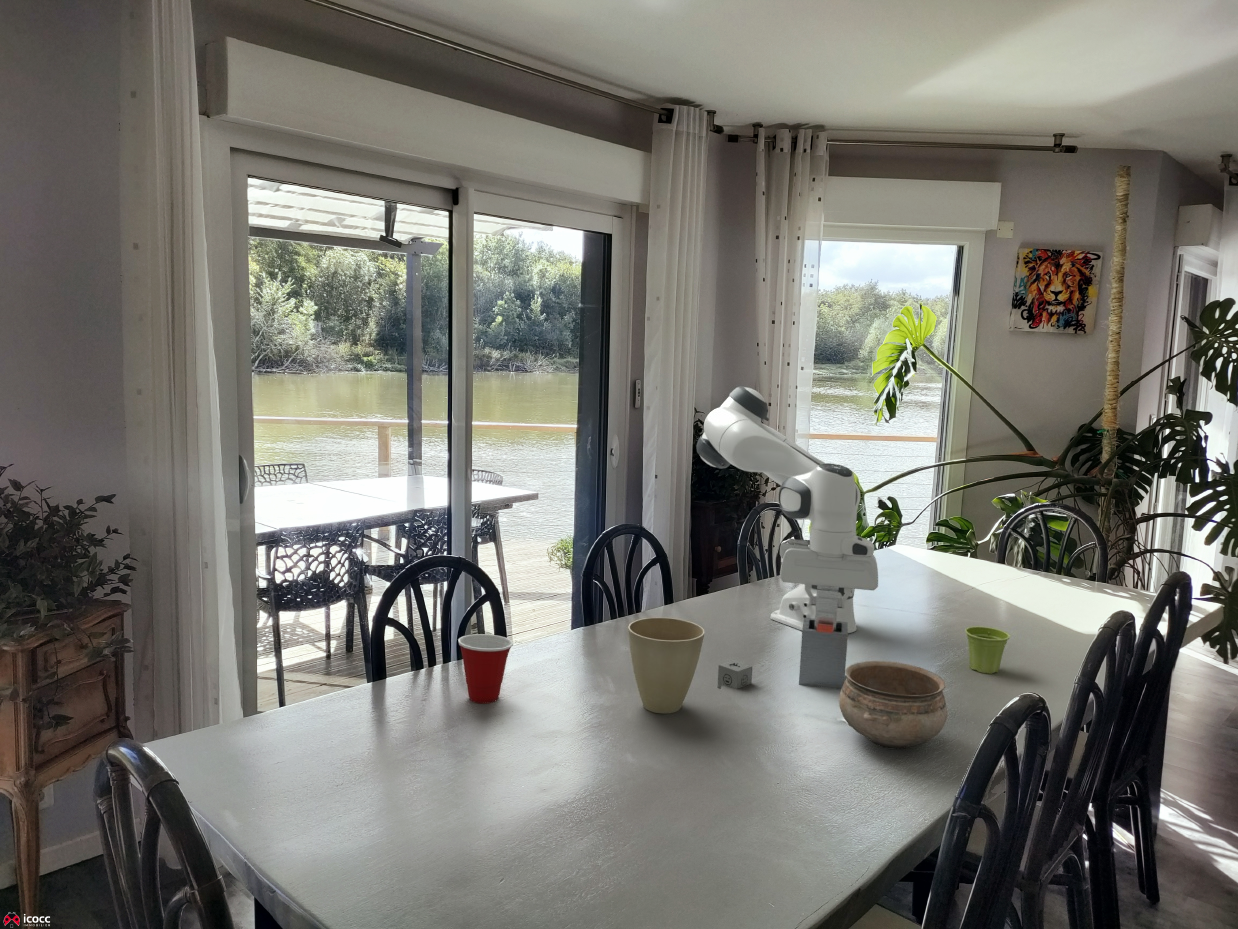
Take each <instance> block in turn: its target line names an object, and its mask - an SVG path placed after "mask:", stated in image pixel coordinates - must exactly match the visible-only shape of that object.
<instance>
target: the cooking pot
mask: <svg viewBox="0 0 1238 929" xmlns="http://www.w3.org/2000/svg"><path fill="white" fill-rule="evenodd" d="M845 677H846V678H845V681H844V684H843V687H842V689H841V690H840V693H839V697H838V699H839V700H838V706H839V709H840V713H841V714H842V717H843V718H844V720H845V722H846V723H847V724H848V725H849V727H850V728H852V729H853V730H854V731H855V732H856V733H858V734H859V735H860V736H863V737H864V738H866V739H867V740H869V741H870V742H872V743H873V744H875V745H877V746H878V747H881V748H884V749H889V750H902V749H907V748H909V747H914V746H916V745H920V744H923V743H926V742H928V741H930V740H932V739H933V738H935V737H936V736H937V735H938V734H940V733H941V731H942V730H943V728H944V727H945V725H946V722H947V719H948V707H947V706H948V705H947V702H946V698H945V694H944V692H943V690H945V688H946V682H945V681H944V679H943V678H942V677H941V676H939V675H938V674H936V673H934V672H932V671H930V670H929V669H925V668H922V667H920V666H915V665H912V664H907V663H903V662H897V661H888V660H886V661H885V660H866V661H860V662H856V663H852V664H850V665H849V666H847V667H845Z"/></svg>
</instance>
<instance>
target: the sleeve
mask: <svg viewBox="0 0 1238 929" xmlns="http://www.w3.org/2000/svg"><path fill="white" fill-rule="evenodd" d="M814 626H815V619H812V618H804V622H803V628H802V630H801V642H800V643H801V644H800V660H799V675H798V676H799V677H798V685H800V686H808V687H816V688H825V689H834V690H840V691H841V689H842V687H843V684H844V682H845V680H846V678H845V677H846V674H845V670H846V664H847V663H846V662H847V651H848V650H847V649H848V637H849V635H848V634H849V633H848V622H841V621H836V632H833V625H829V624H820V623H818V624H817V630H814Z"/></svg>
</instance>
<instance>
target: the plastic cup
mask: <svg viewBox="0 0 1238 929" xmlns="http://www.w3.org/2000/svg"><path fill="white" fill-rule="evenodd" d="M457 640H458V645H459V646H460V651H461V656H462V661H463V667H464V668H463V669H464V676H465V684H466V686H467V693H468V694H467V695H468V697H469V701H471V702H473V703H476V704H490V703H494V702H496V701H497V700H498V699H499V696H500V693H501V688H502V683H503V679H504V674H505V669H506V664H507V660H508V657H509V653H510V650H511V648H512V646H513V645H514V642H513V640H512V639H509V638H508V637H505V636H501V635H494V634H487V633H485V634H483V633H482V634H479V633H477V634H476V633H475V634H468V635H463V636H461V637H459V638H458V639H457Z"/></svg>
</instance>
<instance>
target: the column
mask: <svg viewBox="0 0 1238 929" xmlns="http://www.w3.org/2000/svg"><path fill="white" fill-rule="evenodd" d="M838 590H839V587H830V586H819V585H817V595H816V611H815V626H814V630H817V624H818V623H820V624H829V625H833V632H836V621H837V606H838Z"/></svg>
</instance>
